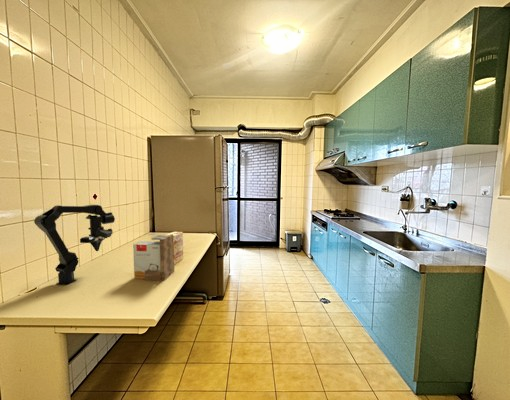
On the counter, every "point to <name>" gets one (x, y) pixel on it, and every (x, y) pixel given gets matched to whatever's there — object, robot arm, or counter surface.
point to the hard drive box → (146, 257)
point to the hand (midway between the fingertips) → (97, 251)
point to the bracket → (163, 259)
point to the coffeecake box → (177, 246)
